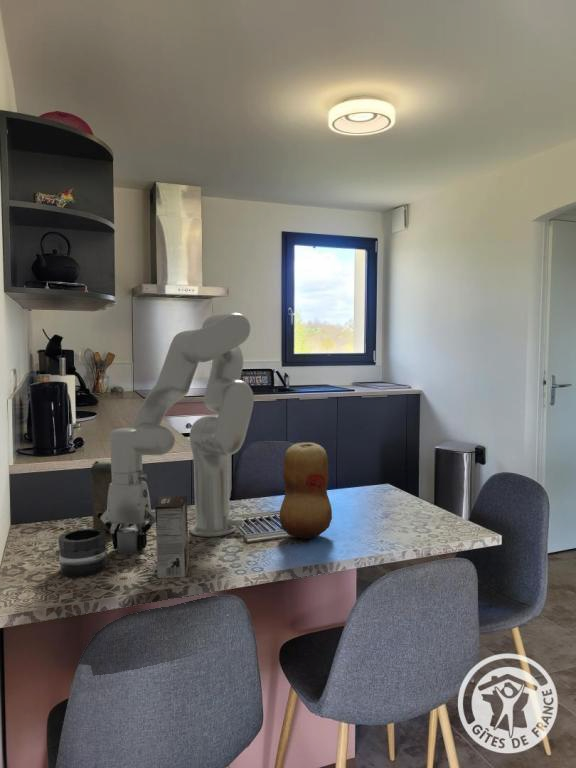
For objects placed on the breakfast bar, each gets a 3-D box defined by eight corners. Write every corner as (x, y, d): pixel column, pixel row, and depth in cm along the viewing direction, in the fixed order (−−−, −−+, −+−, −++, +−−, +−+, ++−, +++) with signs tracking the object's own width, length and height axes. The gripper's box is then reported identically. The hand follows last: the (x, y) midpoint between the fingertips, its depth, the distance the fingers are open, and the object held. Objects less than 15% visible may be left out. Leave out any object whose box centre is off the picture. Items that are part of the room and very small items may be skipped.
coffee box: (161, 564, 136) (159, 496, 135) (189, 562, 137) (187, 494, 136) (156, 579, 127) (153, 506, 126) (186, 577, 128) (183, 504, 127)
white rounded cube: (146, 546, 149) (145, 526, 149) (135, 554, 143) (134, 534, 143) (124, 545, 150) (124, 525, 150) (113, 553, 144) (112, 533, 144)
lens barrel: (115, 562, 138) (114, 529, 137) (91, 579, 128) (89, 543, 127) (77, 559, 140) (75, 527, 140) (50, 576, 130) (48, 540, 130)
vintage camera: (145, 519, 175) (142, 453, 175) (125, 533, 160) (122, 461, 160) (114, 520, 176) (111, 454, 176) (92, 534, 161) (89, 462, 161)
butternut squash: (294, 549, 144) (291, 449, 143) (272, 534, 156) (270, 442, 155) (342, 540, 150) (340, 444, 149) (317, 527, 162) (316, 438, 161)
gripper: (165, 475, 147) (167, 545, 148) (104, 473, 151) (107, 541, 152) (151, 481, 140) (154, 555, 141) (88, 479, 144) (90, 551, 145)
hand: (129, 547), depth 147 cm, fingers closed on white rounded cube, 5 cm apart
